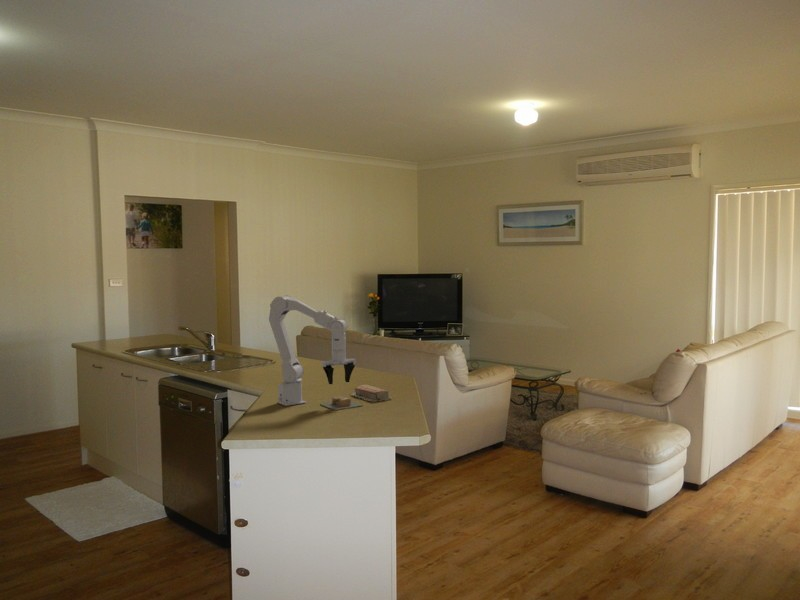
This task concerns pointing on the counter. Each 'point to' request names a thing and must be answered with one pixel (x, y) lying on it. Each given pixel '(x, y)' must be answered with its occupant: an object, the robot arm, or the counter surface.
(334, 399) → the walnut block
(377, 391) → the packaged product
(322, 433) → the counter surface
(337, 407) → the slate mat
